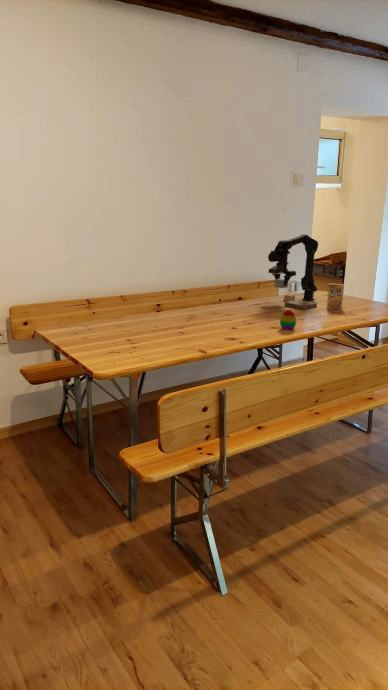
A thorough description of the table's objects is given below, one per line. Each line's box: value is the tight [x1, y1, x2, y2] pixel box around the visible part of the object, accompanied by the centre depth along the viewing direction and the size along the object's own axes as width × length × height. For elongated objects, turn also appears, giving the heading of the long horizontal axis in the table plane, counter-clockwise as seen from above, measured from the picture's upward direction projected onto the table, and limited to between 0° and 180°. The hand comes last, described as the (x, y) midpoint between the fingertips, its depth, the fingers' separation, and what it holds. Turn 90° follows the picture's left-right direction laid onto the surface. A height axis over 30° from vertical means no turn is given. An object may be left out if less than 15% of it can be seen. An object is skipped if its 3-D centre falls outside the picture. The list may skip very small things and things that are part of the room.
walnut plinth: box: [284, 299, 318, 311], centre depth 320 cm, size 14×14×2 cm
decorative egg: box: [279, 309, 297, 331], centre depth 264 cm, size 8×8×10 cm
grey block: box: [274, 277, 289, 289], centre depth 326 cm, size 6×6×5 cm
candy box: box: [326, 283, 345, 311], centre depth 315 cm, size 9×4×15 cm, turn 70°
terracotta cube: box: [283, 293, 296, 302], centre depth 338 cm, size 5×5×4 cm
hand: (281, 285), depth 326 cm, fingers closed on grey block, 6 cm apart
